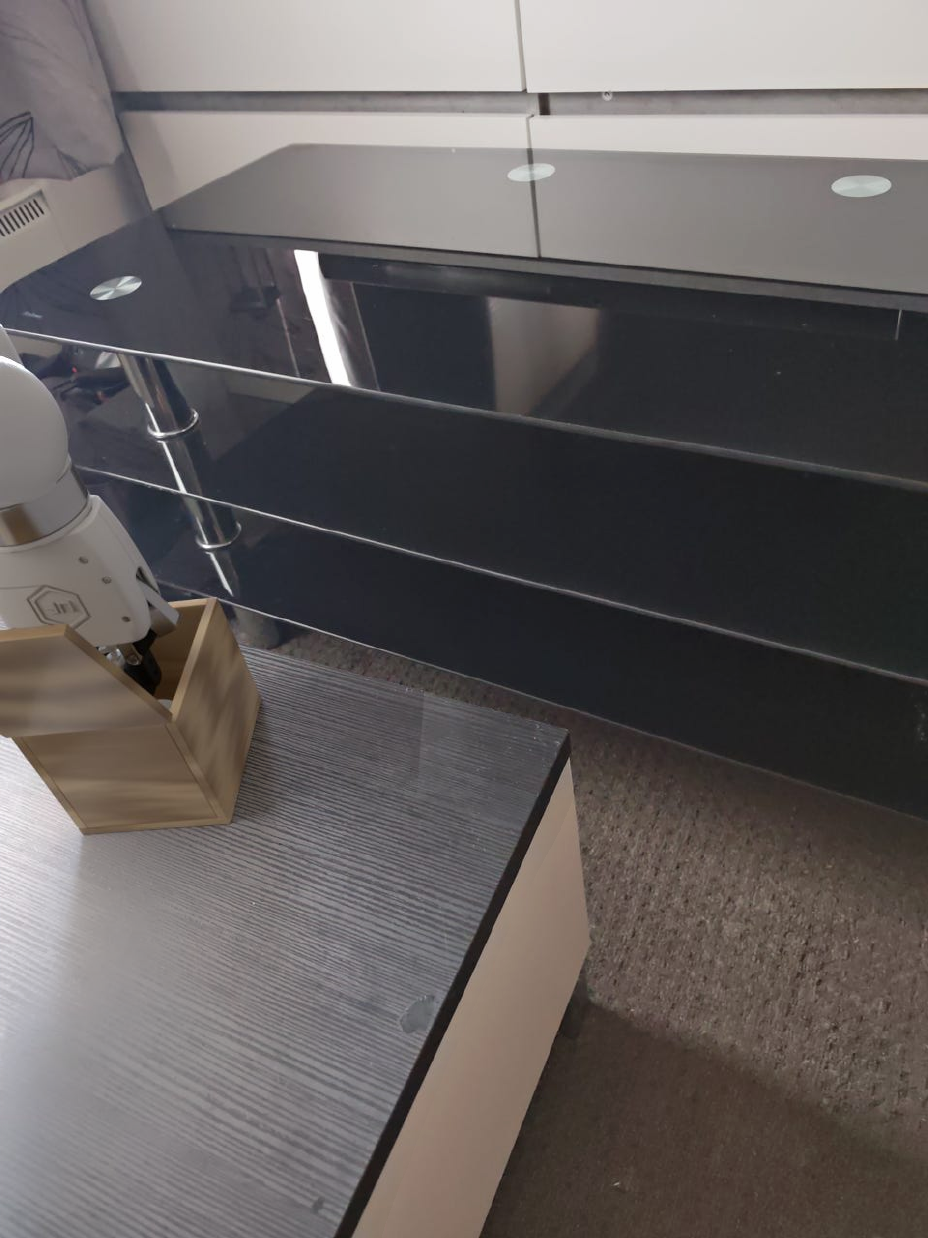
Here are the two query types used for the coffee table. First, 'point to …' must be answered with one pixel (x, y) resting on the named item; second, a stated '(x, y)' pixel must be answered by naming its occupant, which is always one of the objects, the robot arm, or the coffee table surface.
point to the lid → (66, 686)
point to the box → (163, 739)
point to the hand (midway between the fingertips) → (134, 689)
